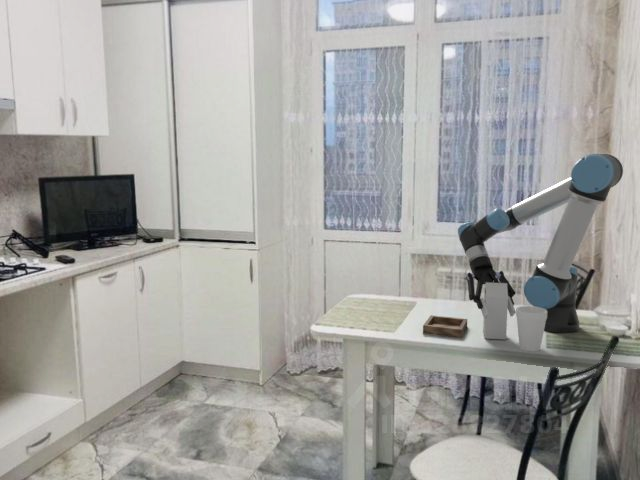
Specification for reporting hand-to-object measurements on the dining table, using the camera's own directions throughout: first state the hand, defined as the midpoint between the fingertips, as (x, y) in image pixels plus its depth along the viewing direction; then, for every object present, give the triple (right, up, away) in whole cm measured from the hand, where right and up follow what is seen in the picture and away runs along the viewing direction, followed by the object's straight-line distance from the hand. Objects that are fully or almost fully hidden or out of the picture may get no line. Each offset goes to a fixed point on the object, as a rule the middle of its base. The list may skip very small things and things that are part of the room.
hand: (500, 315), depth 199 cm
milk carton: (-1, -8, +4) cm, 9 cm away
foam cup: (+7, -10, -7) cm, 14 cm away
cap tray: (-16, -7, +12) cm, 21 cm away
